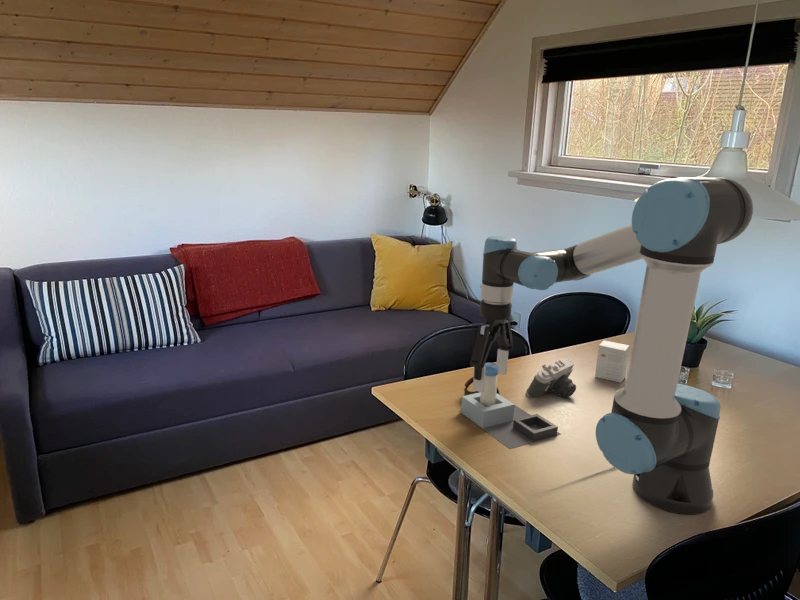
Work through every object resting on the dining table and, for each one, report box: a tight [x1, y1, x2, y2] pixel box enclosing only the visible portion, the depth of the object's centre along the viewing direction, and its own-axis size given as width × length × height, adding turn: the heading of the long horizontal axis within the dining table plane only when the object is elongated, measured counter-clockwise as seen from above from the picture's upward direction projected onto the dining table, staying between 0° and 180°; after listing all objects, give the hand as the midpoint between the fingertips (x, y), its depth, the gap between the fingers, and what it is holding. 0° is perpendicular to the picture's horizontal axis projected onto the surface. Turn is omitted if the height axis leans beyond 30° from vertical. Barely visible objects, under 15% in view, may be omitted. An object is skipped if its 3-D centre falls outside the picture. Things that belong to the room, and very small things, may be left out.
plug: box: [480, 362, 499, 407], centre depth 150 cm, size 4×4×14 cm
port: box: [460, 392, 516, 429], centre depth 151 cm, size 10×10×4 cm
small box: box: [594, 340, 630, 384], centre depth 180 cm, size 8×6×10 cm
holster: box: [513, 413, 559, 443], centre depth 144 cm, size 8×8×2 cm
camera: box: [525, 357, 577, 399], centre depth 166 cm, size 9×16×10 cm, turn 133°
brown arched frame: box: [463, 376, 500, 396], centre depth 162 cm, size 12×10×8 cm
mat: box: [458, 404, 562, 450], centre depth 149 cm, size 21×16×1 cm
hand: (490, 382), depth 149 cm, fingers open, 13 cm apart
